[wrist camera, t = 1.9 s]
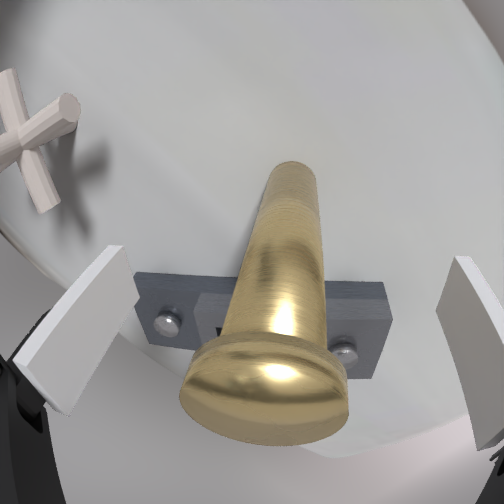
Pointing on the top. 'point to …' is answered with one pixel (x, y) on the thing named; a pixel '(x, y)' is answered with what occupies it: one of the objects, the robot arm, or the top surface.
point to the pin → (274, 332)
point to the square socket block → (218, 300)
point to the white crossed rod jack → (33, 137)
